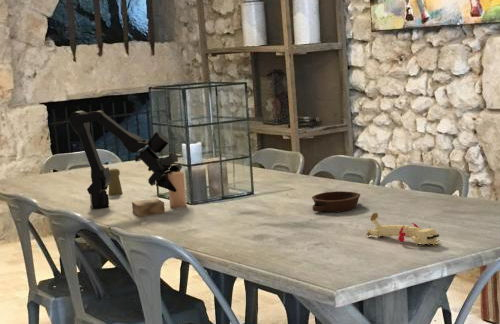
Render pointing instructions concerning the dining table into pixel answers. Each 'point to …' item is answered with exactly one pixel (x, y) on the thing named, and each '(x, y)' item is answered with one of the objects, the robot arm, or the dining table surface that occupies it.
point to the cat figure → (404, 232)
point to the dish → (335, 201)
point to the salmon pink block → (179, 196)
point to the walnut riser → (148, 207)
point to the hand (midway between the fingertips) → (180, 189)
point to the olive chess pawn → (115, 183)
